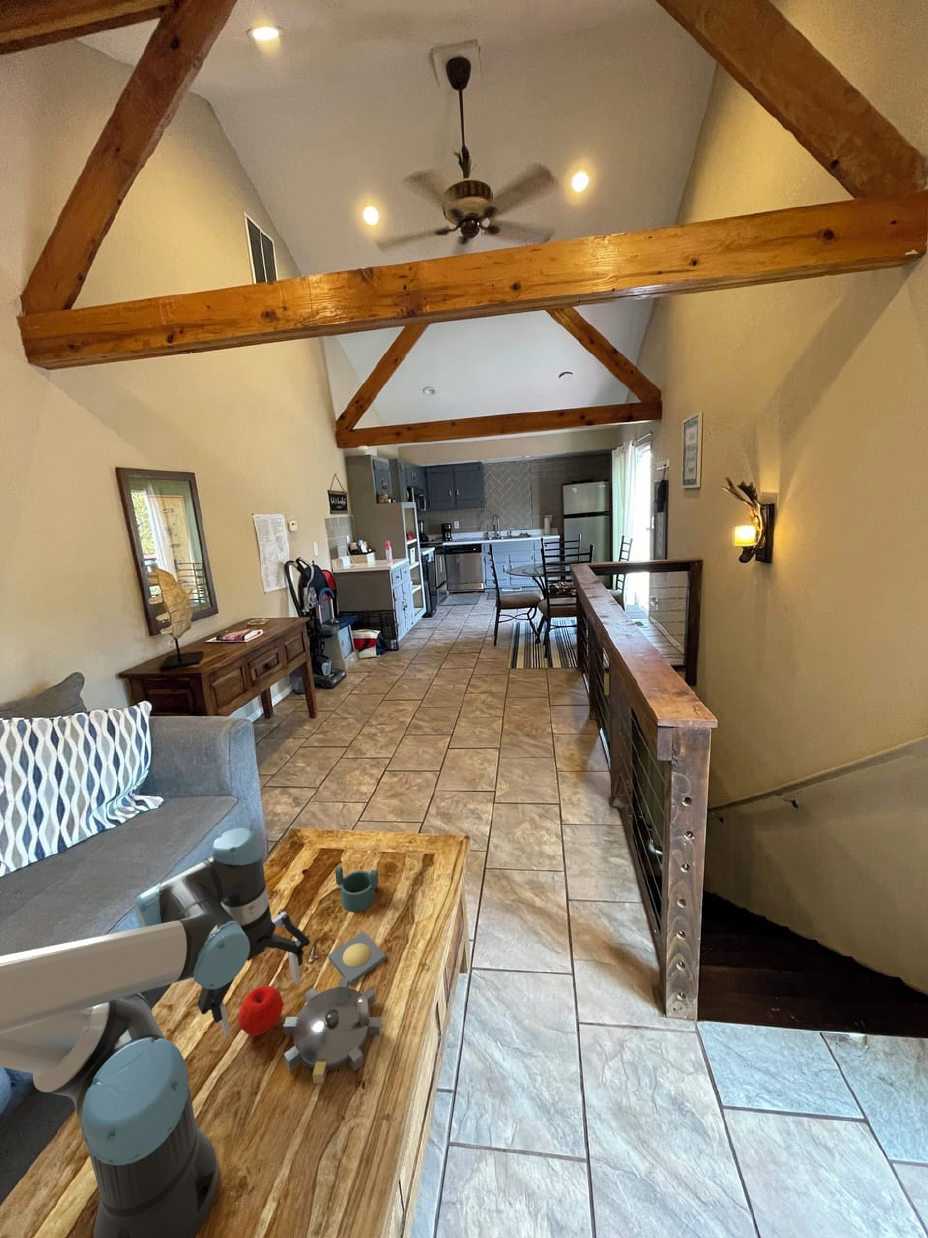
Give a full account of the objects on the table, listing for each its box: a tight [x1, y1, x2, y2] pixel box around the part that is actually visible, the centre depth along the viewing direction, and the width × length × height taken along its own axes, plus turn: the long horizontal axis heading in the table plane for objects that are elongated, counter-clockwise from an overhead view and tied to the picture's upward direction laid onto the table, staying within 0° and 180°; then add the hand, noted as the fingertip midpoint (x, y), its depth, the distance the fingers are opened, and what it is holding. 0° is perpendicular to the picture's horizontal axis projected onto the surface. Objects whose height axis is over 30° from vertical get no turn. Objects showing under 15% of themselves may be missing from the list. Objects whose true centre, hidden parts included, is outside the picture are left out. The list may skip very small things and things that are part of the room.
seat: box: [327, 931, 387, 986], centre depth 111 cm, size 9×9×1 cm
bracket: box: [334, 866, 379, 913], centre depth 128 cm, size 9×9×9 cm
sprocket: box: [282, 977, 382, 1085], centre depth 94 cm, size 18×18×7 cm
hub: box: [325, 1009, 339, 1027], centre depth 95 cm, size 6×6×4 cm
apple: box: [237, 985, 284, 1036], centre depth 96 cm, size 8×8×7 cm
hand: (262, 1004), depth 96 cm, fingers open, 13 cm apart
